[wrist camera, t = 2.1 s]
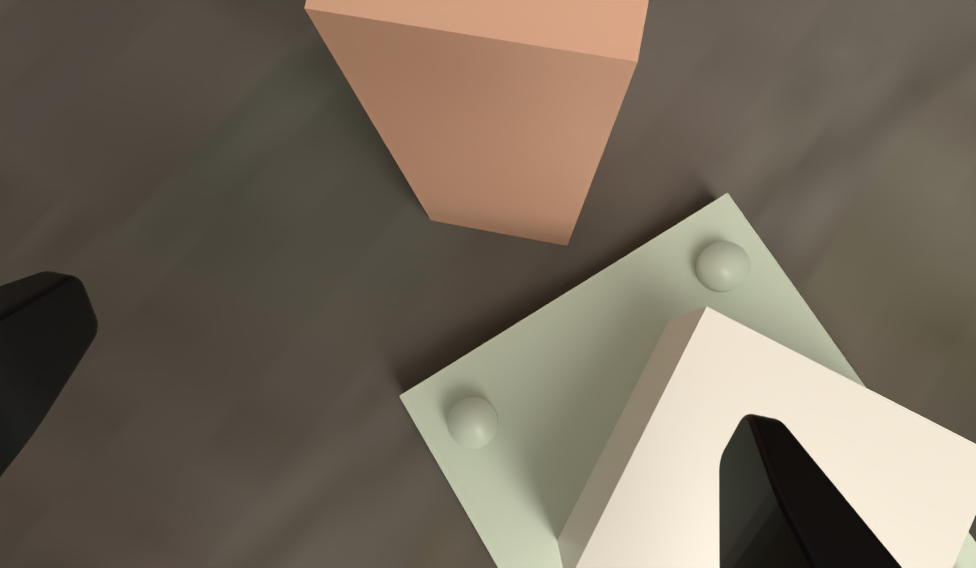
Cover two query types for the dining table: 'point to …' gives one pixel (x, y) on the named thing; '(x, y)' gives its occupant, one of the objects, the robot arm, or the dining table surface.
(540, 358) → the tower base
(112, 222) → the dining table surface
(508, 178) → the column brick
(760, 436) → the robot arm
